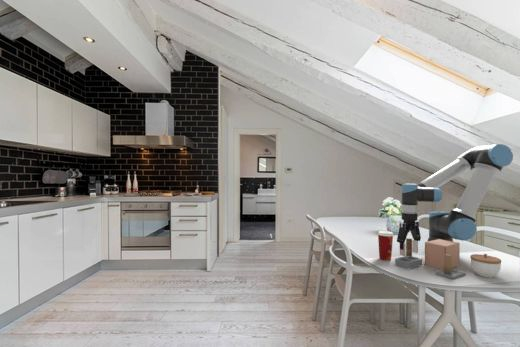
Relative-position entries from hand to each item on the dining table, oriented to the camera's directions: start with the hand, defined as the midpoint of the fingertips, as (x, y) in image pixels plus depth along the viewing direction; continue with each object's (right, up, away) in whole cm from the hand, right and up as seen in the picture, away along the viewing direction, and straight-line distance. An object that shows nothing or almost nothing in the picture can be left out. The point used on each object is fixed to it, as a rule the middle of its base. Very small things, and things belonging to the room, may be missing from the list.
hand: (408, 254), depth 150 cm
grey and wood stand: (+6, -2, -25) cm, 25 cm away
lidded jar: (+21, -3, -25) cm, 32 cm away
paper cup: (-14, -2, -2) cm, 14 cm away
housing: (+10, -2, -11) cm, 15 cm away
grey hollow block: (-7, -2, -12) cm, 14 cm away
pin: (0, -2, 0) cm, 2 cm away
